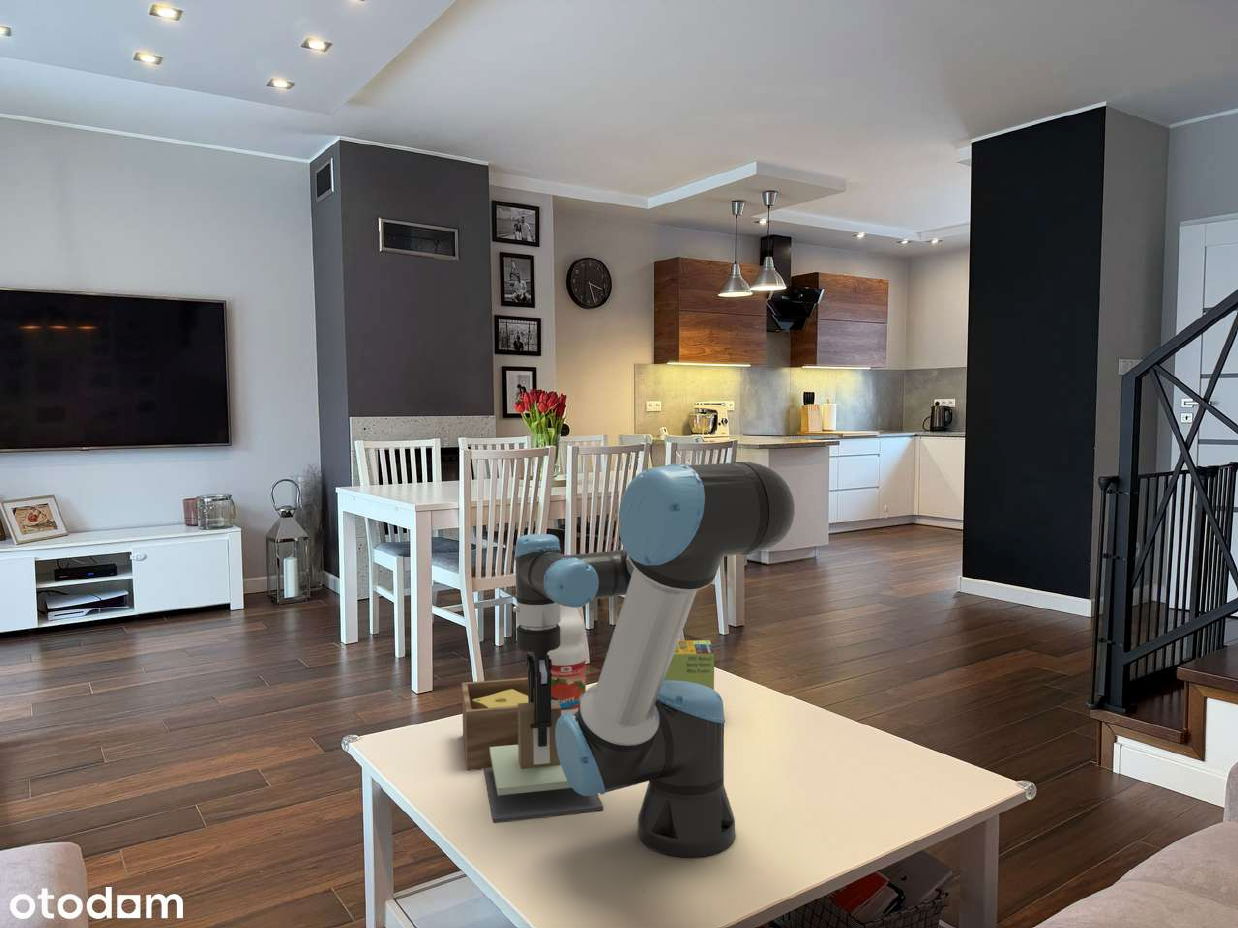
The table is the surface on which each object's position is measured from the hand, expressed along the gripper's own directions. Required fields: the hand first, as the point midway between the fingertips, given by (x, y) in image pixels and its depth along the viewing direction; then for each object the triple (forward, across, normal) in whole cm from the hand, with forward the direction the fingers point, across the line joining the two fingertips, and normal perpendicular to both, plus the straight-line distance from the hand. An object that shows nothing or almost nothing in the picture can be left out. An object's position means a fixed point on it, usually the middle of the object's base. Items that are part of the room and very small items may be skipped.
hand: (539, 756), depth 148 cm
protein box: (+6, -27, +33) cm, 43 cm away
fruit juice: (+6, -35, +10) cm, 37 cm away
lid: (+2, 0, 0) cm, 2 cm away
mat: (+6, 0, 0) cm, 6 cm away
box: (+6, -19, -4) cm, 21 cm away
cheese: (+6, -19, -4) cm, 21 cm away
